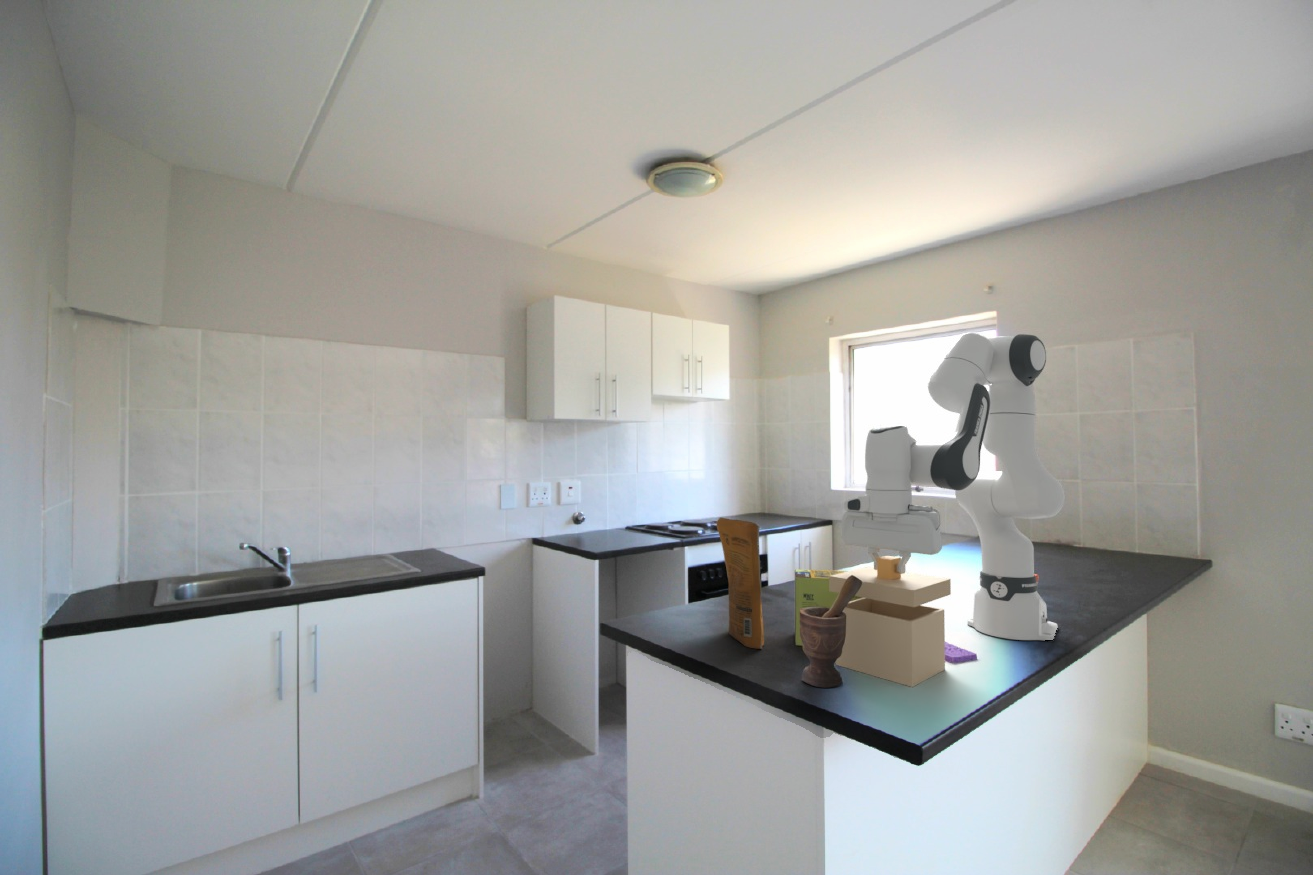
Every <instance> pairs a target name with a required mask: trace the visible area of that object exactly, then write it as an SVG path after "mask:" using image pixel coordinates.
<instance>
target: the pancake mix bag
mask: <svg viewBox="0 0 1313 875" xmlns="http://www.w3.org/2000/svg"><path fill="white" fill-rule="evenodd" d="M760 528H761V526H759V525H758V524H756V522H752V521H748V520H742V519H732V518H731V519H729V518H727V517H725V518H724V517H719V518H718V520H716V529H717V532H718V535H719V538H720V543H721V547H722V552H723V559H724V564H725V567H726V574H727V579H728V580H727V582H728V635H729V636H731V638H733V639H734V640H736V641H738V642H739V643H741V645H743V646H744V647H745V648H751V649H757V650H758V649H761V650H763V646H764V645H765V638H764V636H765V635H764V620H763V617H764V616H763V607H762V580H761V579H762V577H761V560H760Z"/></svg>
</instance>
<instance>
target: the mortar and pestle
mask: <svg viewBox="0 0 1313 875" xmlns="http://www.w3.org/2000/svg"><path fill="white" fill-rule="evenodd" d="M861 585H862V581H861V580H860V579H859V578H857V577H855V576H853V575H851V576H849V577H848V578H847V580H846V581H845V583H844V585H843V586H842V588H841V591H840V593H839V595H838V597H837V599H836V600H835V602H834V604H833V606H832V607H831V608H827V607H806V608H801V609H800V637H801V641H802V644H803V646H801V647H802V650H803V653H804V655H806V657H807V658H808V660H809V663H810V664H809V665H808V666H805V668H804V669H803V671H802V673H801V681H803V682H804V683H806V684H808V685H811V686H814V687H817V688H834V687H835V688H836V687H838V686H840V685H841V684H843V678H842V676H841V673H840V671H839V670H837V668H836V667H835V663H836V660H837V659H838V658H839V657H840V656H841V654H842V648H843V645H844V643H845V637H846V614H845V613H844V612H842V611H843V610H844V608H845V607H846V606H847V604H848V603H849V602H850V600H851V599H852V598H853V597H854V596H855V595H856V593H857V592H858V591H859V589H860V587H861Z"/></svg>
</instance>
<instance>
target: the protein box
mask: <svg viewBox="0 0 1313 875" xmlns="http://www.w3.org/2000/svg"><path fill="white" fill-rule="evenodd" d="M848 571H849V570H831V569H830V570H829V569H828V570H825V569H794V643H795V646H801V647H803V644H802V641H801V637H800V609H801V608H806V607H827V608H831V607H832V606H833V604H834V602H835V600H836V599H837V597H838V595H839V593H837V592H831V591H829V576H831V575H835V574H840V573H844V572H848ZM861 598H863V597H858V596H854V597H853V598H852V599H851V600H850V601H854V600H857V599H861Z"/></svg>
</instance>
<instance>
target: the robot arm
mask: <svg viewBox="0 0 1313 875" xmlns="http://www.w3.org/2000/svg"><path fill="white" fill-rule="evenodd" d="M1046 362H1047V352H1046V347H1045V345H1044V343H1043V341H1042V340H1041V339H1040V338H1039V337H1037V336H1036V335H1033V334H1021V333H1020V334H1016V335H1005V336H994V337H989V338H987V337H986V336H984V335H983V334H979V333H977V332H966V333H962V334H960V335H958V336H956V337H954V339H953V340H952V341H951V342H950V343H949V344H948V346H947V347H946V348H945V349H944V351H943V352H942V353H941V355H940V357H939V358H938V359H937V361H936V364H934V365H935V366H934V367H933V369H932V370H931V373H930V375H929V377H928V382H927V389H928V393H929V395H930V397H931V398H932V400H933V401H934V402H935V403H936V404H937V405H938V406H940V407H941V408H942V409H944V410H947V411H949V412H952V413H956V414H959V416H958V421H957V424H956V428H955V431H954V435H953V436H949V437H948V438H945V439H941V440H918V439H917V438H915V437H913V436H912V435H910V433H909V430H908V428H907V426H906V425H905V424H902V423H892V424H891V423H889V424H883V425H877V426H875V427H872V428H870V429H869V430H868V432H867V437H866V442H865V453H864V454H865V456H864V459H865V460H864V467H865V471H866V475H867V478H866V484H865V494H863V495H859V496H857V497H853V498H850V499H846V500H844V501H843V505H842V506H843V510H844V513H843V514H842V517H841V522H840V540H841V541H842V543H843V544H844V545H847V546H855V547H863V548H867V549H868V550H867V551H868V554H869V557H870V558H871V560H872V562H873V567H874V570H877V558H879V557H880V555H879V552H880V553H881V551H880V550H888V551H895V552H896V551H897V552H898V553H899V554H898V556H899V557H900V558H901V560H900V562H899V563H898V564H894V568H895V570H894V572H895V573H899V574H904V573H905V572H906V565H907V563H908V562H909V560H910V558H911V556H912V553H913V554H914V553H915V554H920V555H930V556H931V555H936V554H937V555H938V554H939V553H940V552H941V550H942V548H943V541H942V536H941V535H942V534H941V528H940V525H941V513H939V511H938V510H937V509H935V508H934V507H933V506H930V505H925V506H924V505H923V506H922V505H919V504H917V505H916V504H915V505H914V504H913V503H912V502H913V500H912V498H913V496H912V491H913V490H912V487H920V488H921V487H925V488H940V489H944V490H951V491H952V490H953V491H954V494H955V499H956V501H957V503H958V505H959V507H961V508H962V509H963V510H964V511H965V512H966V513H967V514H968V515H969V516H970V518H971V521H973V524H974V526H975V527H976V530H977V533H978V536H979V537H978V538H979V542H980V548H981V549H980V551H981V552H980V553H981V571H979V585H980V588H979V590H977V591H976V592H974V597H973V613H972V618H971V619H968V620H967V622H966V623H967V625H969V626H970V627H973V628H974V629H975V630H976V631H978V632H980V633H982V634H985V635H988V636H992V637H995V638H996V637H997V638H1002V639H1007V640H1015V641H1016V640H1017V641H1018V640H1019V641H1045V640H1053V639H1055V637H1054V636H1056V634H1055V633H1057V632H1056V630H1057V631H1058V629H1057V628H1059V626H1058V623H1056V622H1052V621H1050V620H1048V613H1047V612H1048V610H1047V608H1048V607H1047V603H1046V602H1045V601H1044V599H1043V598H1042V597H1041V596H1040V594H1039V593H1038V590H1039V588H1038V583H1039V579H1040V577H1039V574H1035V552H1034V550H1035V547H1034V544H1033V542H1032V540H1031V539H1030V538H1029V537H1028V536H1026V535H1025V534H1023V533H1022V531H1020V530H1019V529H1018V528H1017V526H1016V524H1015V521H1014V518H1016V519H1017V518H1018V519H1026V520H1027V519H1028V520H1037V519H1046V518H1053V517H1055V516H1056V515H1057V514H1059V512H1061V510H1062V508H1063V506H1064V504H1065V498H1066V496H1065V491H1064V490H1065V489H1064V487H1063V485H1062V484H1061V482H1060V481H1059V480H1058V479H1057V478H1056V477H1054V475H1052V474H1051V473H1050V472H1049V471H1048V470H1047V469H1046V467H1045V466H1044V464H1043V463H1042V460H1041V458H1040V456H1039V453H1038V449H1037V443H1036V441H1037V440H1036V416H1037V415H1036V413H1037V412H1036V410H1037V408H1036V395H1035V389H1034V385H1033V383H1034V382H1035V381H1036V379H1037V378H1038V377H1039V376H1040V375H1041V373H1042V372H1043V370H1044V369H1045V366H1046ZM986 385H987V388H986ZM982 445H983V446H984V448H985V449H986V451H988V452H989V453H991V454H992V455H994V456H995V457H996V458H997V460H998V461H999V464H1000V468H1001V471H993V470H992V471H987V470H986V471H985V470H981V471H980V468H981V449H982ZM1053 641H1054V640H1053Z"/></svg>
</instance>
